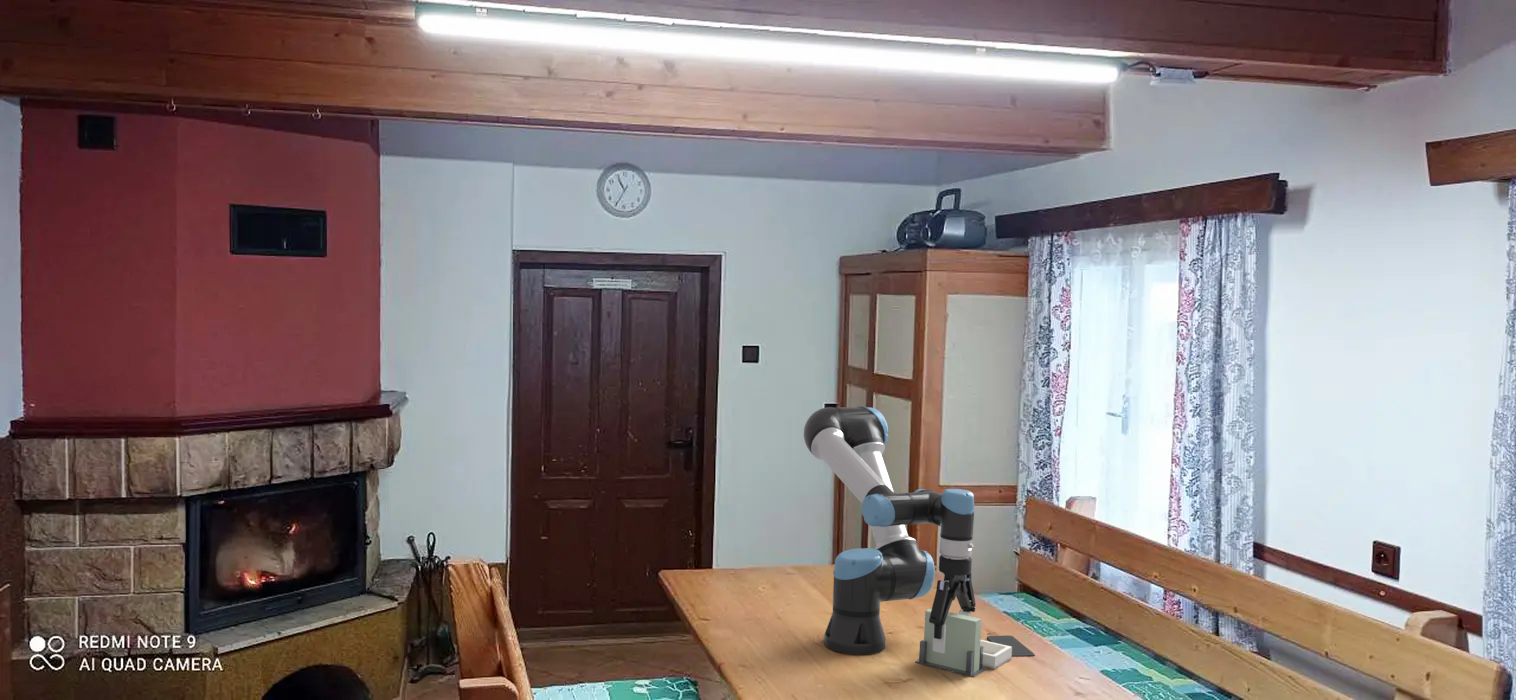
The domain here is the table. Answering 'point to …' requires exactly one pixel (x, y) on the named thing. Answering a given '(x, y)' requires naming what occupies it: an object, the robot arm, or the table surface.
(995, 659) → the white divided tray
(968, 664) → the grey four-post stand
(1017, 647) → the smartphone
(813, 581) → the table surface
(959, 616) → the door panel
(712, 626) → the table surface
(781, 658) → the table surface
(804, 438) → the robot arm
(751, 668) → the table surface
